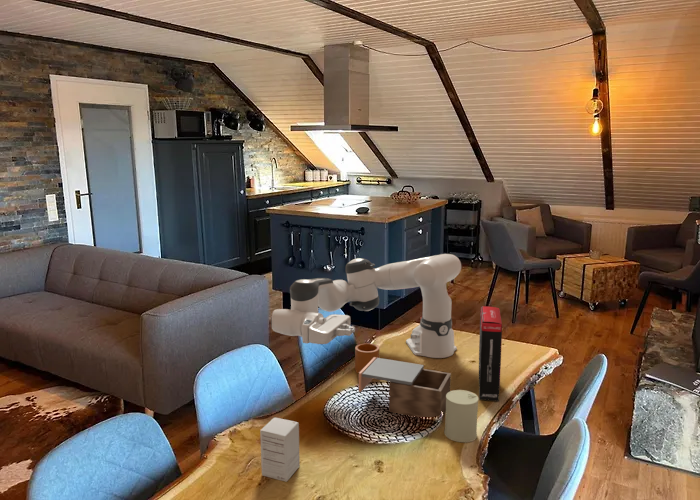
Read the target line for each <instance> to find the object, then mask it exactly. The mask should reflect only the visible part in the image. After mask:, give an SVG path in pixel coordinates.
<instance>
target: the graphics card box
mask: <svg viewBox="0 0 700 500" xmlns="http://www.w3.org/2000/svg"><path fill="white" fill-rule="evenodd" d="M479 315H480V319H479V341H478V342H479V345H478V347H479V349H478V398H479V400H481V401H491V402H499V401H500V387H501V364H502V363H501V362H502V342H503V341H502V340H503V323H502V322H503V321H502V317H501V311H500V308H499V307H495V306H487V305H485V306H481V307H480V314H479Z"/></svg>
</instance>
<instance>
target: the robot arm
mask: <svg viewBox="0 0 700 500" xmlns="http://www.w3.org/2000/svg"><path fill="white" fill-rule="evenodd" d="M375 266H376V264H375V263H372V262H371V261H370V260H368V259H366V258H359V257H357V258H354V259H352V260H350V261H349V262H347V263H346V265H345V274H346V279H347V281H346V280H343V279H335V280H333V279H331V278H327V277H317V278H309V279H305V278H303V279H302V278H301V279H297V280H294V282H293V283H292V284H291V285H290V286H289V294H290V295H289V296H290V305H291V306H290V309H288V308H281V309H280V308H277V309H274V310H273V311H272V313H271V317H270V326H271V330H272V331H273V332H275V333H278V334H281V335H285V336H291V337H296V336H297V337H298V336H299V337H301V338H302V344H314V345H315V344H316V345H328V344H329V343H330V342H331V341H333V340H334V339H336V338H337V337H341V336H348V337H350V336H352V335H353V334H354V333H355V332H356V327H355V326H351V321H352V320H351V316H350V315H348V314H335V313H334V314H329V315H327V316H326V317H324V315H323V313H320V312H319V308H320V309H321V310H322V311H325V312H330V313H331V312H336V311H339V310H340V309H341V308H343V307H344V305H345V304H347V303H348V302H350V303H349V306H350V307H354V308H355V309H356V310H358V311H361V312H363V311H364V312H369V311H371V310H374V309H375V308H377V307H378V306H379V304H380V296H379V292H378V289H380V290H387V291H388V290H389V291H394V290H405V289H413V288H418V287H419V288H420V291H421V296H422V315H419V316H420V317H419V319H420V322H419V324H418V325H417V326H416V327H414V328H413V329H412V331H411V334H410V337H409V338H407V339H406V340H405V343H406V345H407V346H408V347H409V349H410V351H411V352H412V354H414V355H415V356H423V357H426V358H431V359H432V358H433V359H442V358H443V359H444V358H449V357H451V356H453V354H454V353H455V351H456V350H457V349H458V348H457V346H456V345H455V332H454V330H453V328H452V326H453V319H452V298H451V296H449V293H448V291H447V283H448V282H450V281H453V280H454V279H455V278H457V276H459V274H460V273H461V270H462V262H461V260H460V259H459V257H458V256H456V255H455V254H452V253H440V254H435V255H431V256H426V257H419V258H416V259H410V260H405V261H404V260H403V261H397V262H392V263H387V264H384V265H381V266H379V267H376V268H375Z"/></svg>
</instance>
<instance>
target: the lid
mask: <svg viewBox="0 0 700 500" xmlns="http://www.w3.org/2000/svg"><path fill="white" fill-rule="evenodd" d="M424 366H425V365H423V364H419V363H414V362H413V363H412V362H407V361H402V360H401V361H400V360H395V359H394V360H393V359H387V358H380V357H379V358H377V359H376V357H374V358H373V359H372V360H371V361H370V362H369V363H368V364H367V365H366V366H365V367H364V368H363V369H362V370H361V371H360V372H359V374H358V393H362V391H364V389H366V387H367V386H368V385H369V384H370V382H371V381H373V380H380V381H385V382H388V381H390V382H395V383H401V384H407V385H412V384H413V383H414V381H415V380H416V378H417V377H418V375H419V374H420V373H421V371H422V370H423V369H425V368H424Z"/></svg>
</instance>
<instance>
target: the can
mask: <svg viewBox="0 0 700 500" xmlns="http://www.w3.org/2000/svg"><path fill="white" fill-rule="evenodd" d="M479 400H480V399H479V395H477V394H476V393H474V392H472V391H470V390H466V389H456V390H455V389H454V390H450V392H448V393H447V394H446V411H445V421H444V423H445V424H444V431H443V433H444V436H445V437H446V438H447V439H449V440H451V441H454V442H457V443H470V442H474V441H475V440H476V439H477V437H478V432H477V430H478V429H477V428H478V409H479Z"/></svg>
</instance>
